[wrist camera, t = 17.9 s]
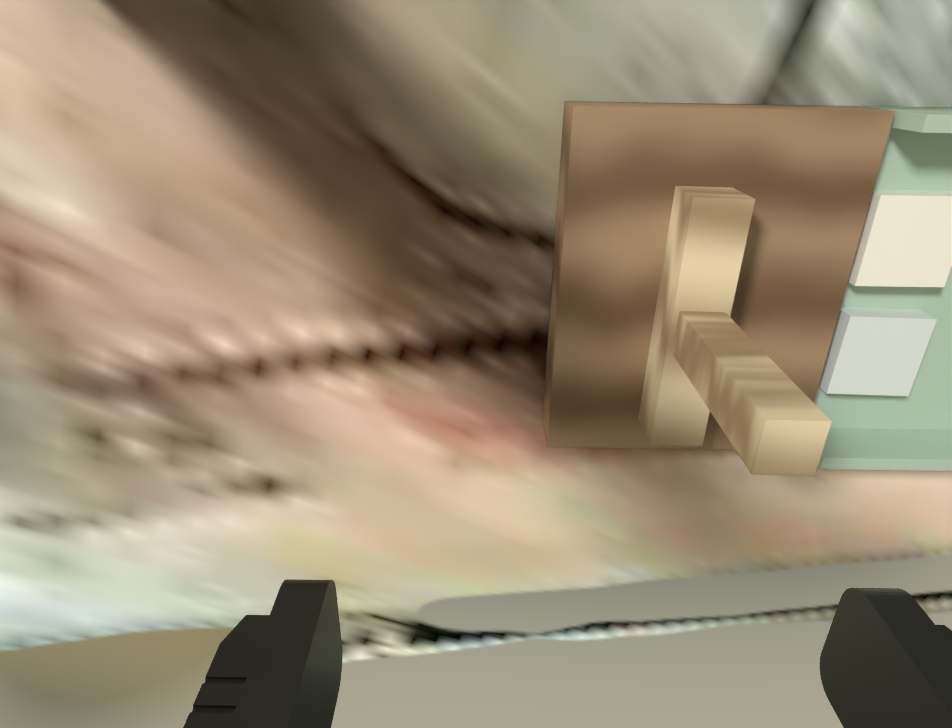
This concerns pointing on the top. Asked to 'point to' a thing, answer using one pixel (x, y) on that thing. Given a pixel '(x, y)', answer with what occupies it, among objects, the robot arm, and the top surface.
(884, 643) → the robot arm
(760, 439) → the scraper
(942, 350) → the box
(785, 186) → the walnut plate
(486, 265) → the top surface
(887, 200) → the cream tile
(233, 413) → the top surface
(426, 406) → the top surface
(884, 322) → the grey tile
